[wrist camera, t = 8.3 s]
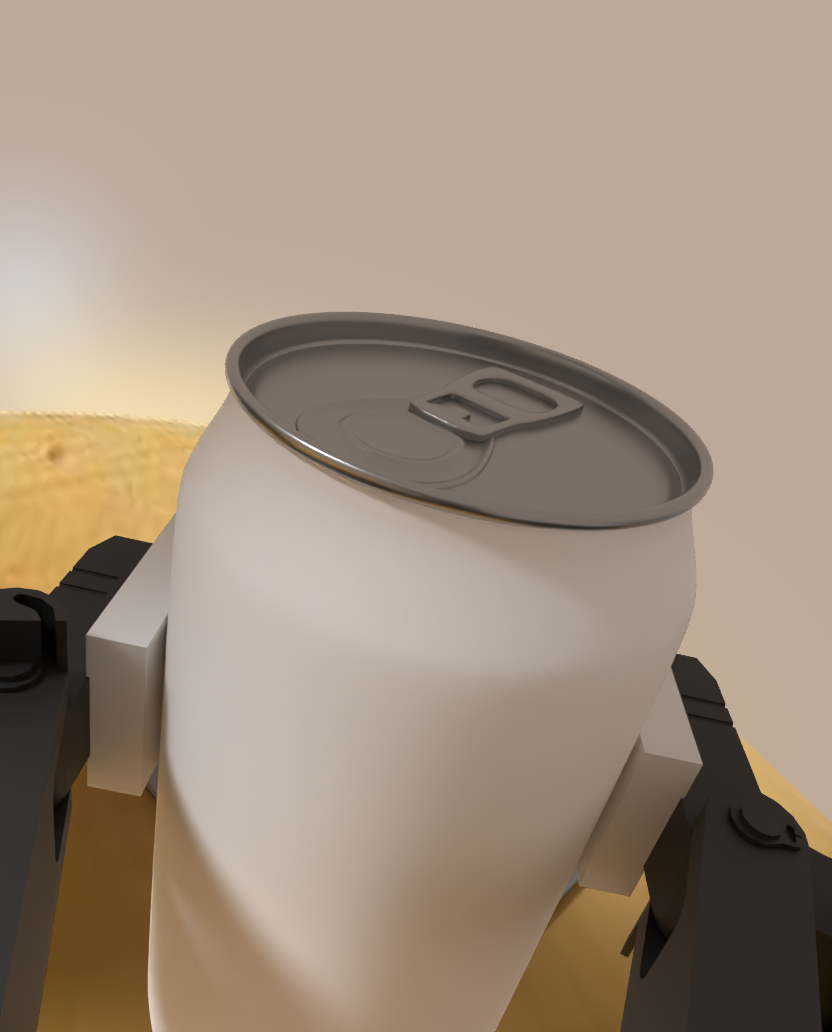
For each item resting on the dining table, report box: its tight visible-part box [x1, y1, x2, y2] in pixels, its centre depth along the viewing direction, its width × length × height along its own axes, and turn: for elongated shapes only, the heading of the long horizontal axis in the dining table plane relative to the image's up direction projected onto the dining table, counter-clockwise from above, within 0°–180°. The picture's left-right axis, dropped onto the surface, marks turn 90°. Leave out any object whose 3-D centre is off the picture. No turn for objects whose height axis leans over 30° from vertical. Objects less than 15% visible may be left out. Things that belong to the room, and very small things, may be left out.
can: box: [148, 312, 713, 1032], centre depth 12 cm, size 6×6×12 cm
